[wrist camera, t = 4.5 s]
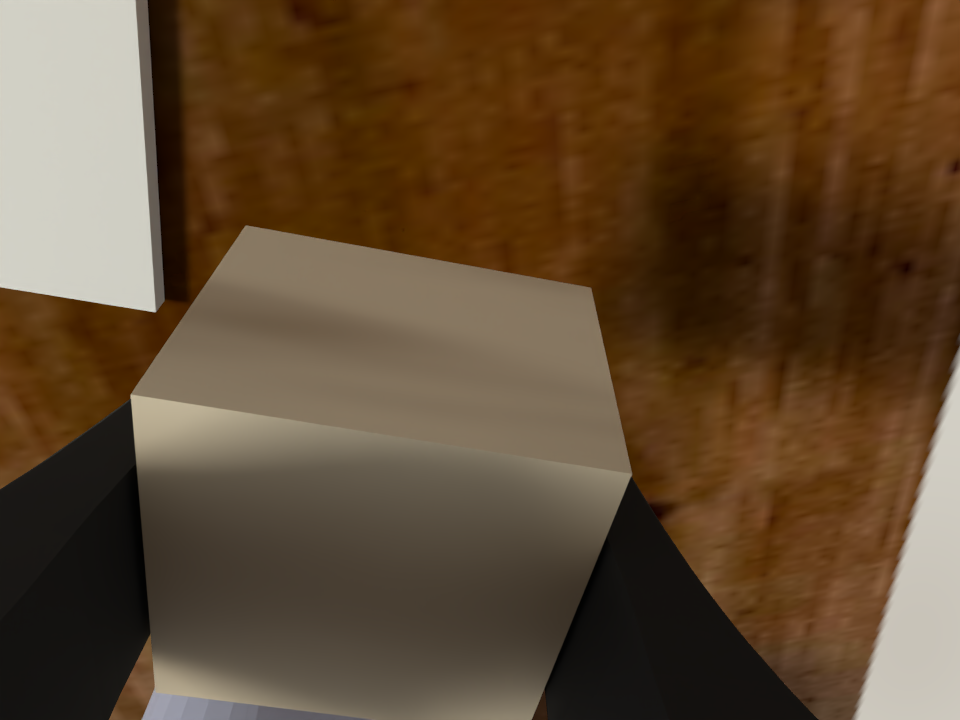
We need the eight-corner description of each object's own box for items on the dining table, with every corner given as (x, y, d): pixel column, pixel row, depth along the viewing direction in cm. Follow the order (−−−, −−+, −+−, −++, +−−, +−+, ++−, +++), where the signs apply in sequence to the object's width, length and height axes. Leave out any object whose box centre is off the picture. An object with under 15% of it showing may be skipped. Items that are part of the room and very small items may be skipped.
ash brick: (517, 525, 14) (524, 738, 10) (240, 483, 13) (155, 692, 10) (590, 287, 11) (631, 474, 8) (246, 225, 11) (131, 394, 7)
